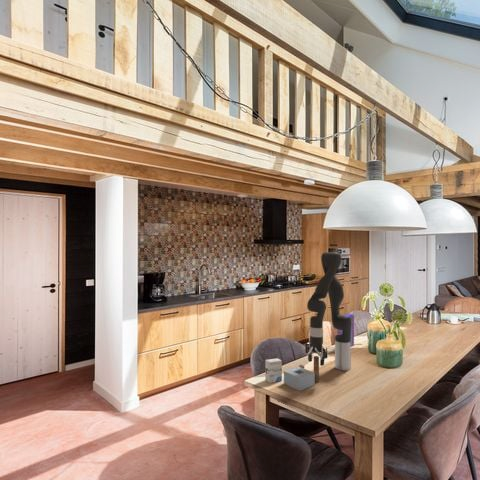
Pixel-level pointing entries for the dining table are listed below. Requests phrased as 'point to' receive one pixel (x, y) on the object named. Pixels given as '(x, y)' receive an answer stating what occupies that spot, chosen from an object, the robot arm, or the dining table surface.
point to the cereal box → (351, 329)
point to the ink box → (273, 370)
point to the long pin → (316, 368)
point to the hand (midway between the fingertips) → (316, 363)
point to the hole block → (299, 378)
